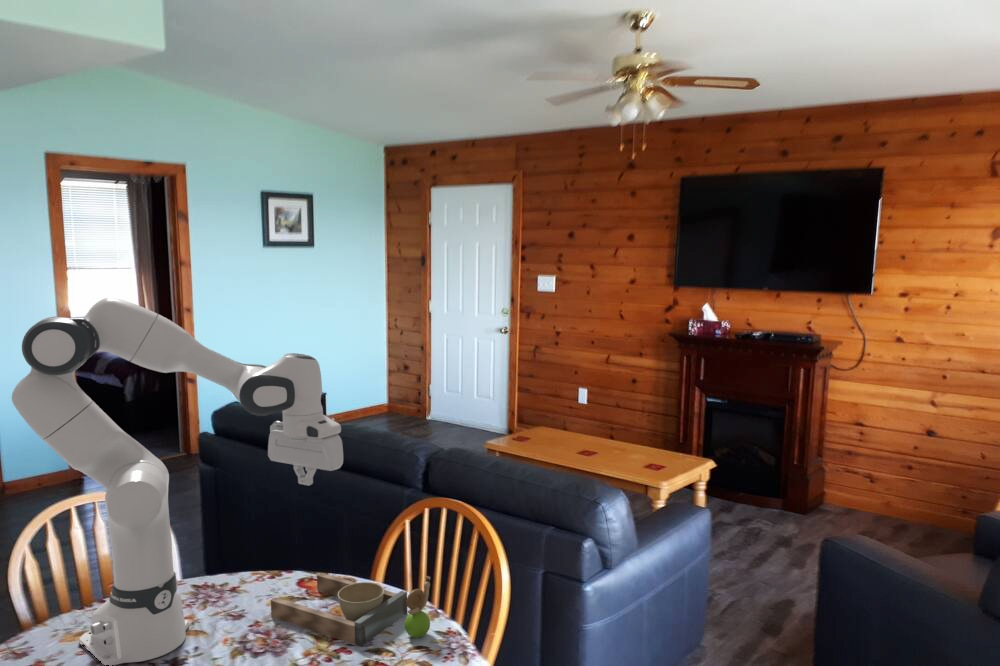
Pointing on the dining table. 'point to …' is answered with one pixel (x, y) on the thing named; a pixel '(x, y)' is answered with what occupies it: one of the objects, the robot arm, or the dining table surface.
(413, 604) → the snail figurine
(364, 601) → the flower pot
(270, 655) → the dining table surface
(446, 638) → the dining table surface
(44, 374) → the robot arm
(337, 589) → the walled lane
